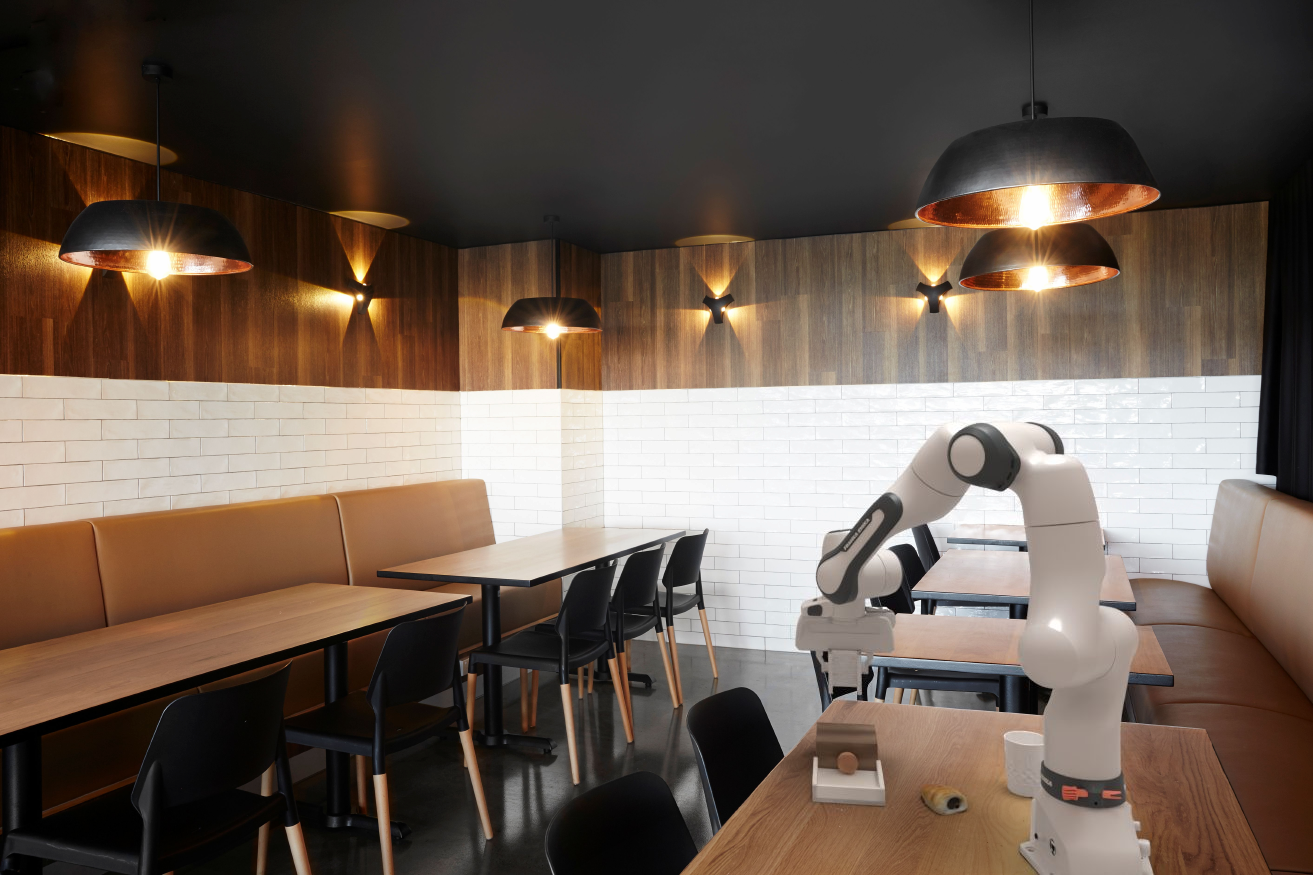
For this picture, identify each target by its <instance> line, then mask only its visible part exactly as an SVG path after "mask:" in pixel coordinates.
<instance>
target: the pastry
mask: <svg viewBox="0 0 1313 875" xmlns="http://www.w3.org/2000/svg"><path fill="white" fill-rule="evenodd" d="M919 792H920V795H921V797H922V799H923V801H924V804H925V805H926V806H928V807H929V808H930V809H931V810H932V811H934V812H935V813H937V814H938V815H942V816H943V815H952V814H953V815H954V814H955V813H961V812H964V811H965V810H966V809H967V808H969V807H968V805H969V801H968V799H967V797H966V795H965V794H964V795H963V793H962V792H960V791H959V790H957V789H956V787H953V786H950V785H945V784H937V783H936V784H934V783H925V784H923V785H922V786H921V787H920V790H919Z"/></svg>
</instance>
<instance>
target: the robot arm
mask: <svg viewBox="0 0 1313 875" xmlns="http://www.w3.org/2000/svg"><path fill="white" fill-rule="evenodd" d="M971 486H975V487H978V488H983V489H987V490H991V491H996V492H999V493H1003V492H1005V491H1006V490H1007V489H1009V490H1011V491H1012V492H1014V493H1015V494H1016V496H1017V497H1018V499H1019V502H1020V504H1021V509H1022V516H1023V517H1022V518H1023V526H1024V531H1025V532H1024V533H1025V538H1026V545H1027V546H1026V547H1027V554H1028V561H1029V562H1028V563H1029V572H1030V581H1029V582H1030V585H1029V586H1030V587H1029V596H1028V597H1029V598H1028V607H1027V616H1026V621H1025V622H1026V623H1025V627H1024V630H1023V632H1022V635H1021V636H1020V638H1019V640H1018V644H1017V649H1016V650H1017V653H1016V654H1017V659H1018V662H1019V665H1020V668H1021V669H1022V671H1023V673H1024V674H1025V675H1026V676H1027V677H1028V678H1029V679H1030V680H1031V681H1033V682H1034V683H1035V684H1037V685H1039V686H1041V687H1044V688H1046V689H1047V688H1048V689H1052V691H1051V694H1050V697H1049V700H1048V703H1047V705H1046V706H1045V708H1044V712H1043V715H1042V732H1043V733H1042V735H1043V750H1044V760H1043V761H1042V762H1041V769H1040V776H1041V785H1042V789H1041V791H1040V792H1039V793H1038V795H1037V796H1035V797H1034V798H1032V799H1031V806H1030V829H1029V830H1030V832H1029V835H1030V836H1029V840H1027V841H1024V842H1021V843H1020V845H1019V852H1020V854H1022V856H1023V857H1024V858H1025V859H1026V860H1027V861H1028V862H1029V863H1028V864H1030V865H1031V866H1032V868H1033V869H1034V870H1035V871H1036V872H1037V873H1038V874H1039V875H1155V874H1154V871H1153V868H1152V866H1151V862H1150V858H1149V857H1151V842H1150V840H1148V839H1145V838H1138V836H1137V832H1140V831H1141V822H1140V820H1139V821H1138V820H1134V818H1133V815H1132V804H1130V803H1129V801H1127V798H1128V797H1127V791H1126V789H1127V785H1126V780H1125V777H1124V776H1125V775H1124V772H1123V770H1122V768H1121V762H1122V760H1121V755H1122V754H1121V726H1122V724H1121V723H1122V714H1123V709H1124V702H1125V699H1126V693H1127V689H1128V682H1129V679H1130V678H1129V677H1130V673H1131V672H1130V671H1131V665H1132V662H1133V660H1134V656H1135V654H1136V652H1137V651H1138V647H1139V642H1140V639H1139V633H1138V628H1137V627H1136V625H1135V623H1134V621H1133V620H1132V619H1131V618H1130V617H1129V615H1127V614H1126V613H1125V612H1123V611H1121V610H1120V609H1117V608H1115V607H1111V606H1105V605H1100V598H1101V590H1102V586H1103V581H1104V579H1105V576H1106V573H1107V562H1106V557H1105V556H1106V554H1105V548H1104V542H1103V536H1102V530H1101V529H1102V528H1101V524H1100V517H1099V512H1098V506H1097V502H1096V498H1095V494H1094V491H1093V487H1092V484H1091V482H1090V478H1089V476H1088V473H1087V471H1086V468H1085V466H1084V465H1083V463H1082V462H1081V461H1080V460H1078V459H1077V458H1075V457H1073V456H1071V455H1070V456H1069V455H1066V454H1065V446H1064V443H1063V440H1062V439H1061V437H1060V435H1059V434H1058V433H1057V432H1056V430H1054V429H1053V428H1051V427H1049V426H1047V425H1045V424H1042V423H1039V422H1033V421H1026V422H1022V421H1011V420H998V421H997V420H996V421H989V422H976V423H973V424H968V423H965V422H961V421H949V422H946V423H944V424H942V425H941V426H940V427H938V428H937V429H936V430H935V431H934V432H933V434H931V435H930V436H929V437H928V438H927V440H926V441H925V442H924V443H923V445H922V446H921V447H920V448H919V450H918V451H917V453H916V454H915V455H914V457H913V458H912V460H911V462H910V463H909V465H908V466H907V467H906V469H905V470H903V472H902V474H901V475H900V476H899V477H898V478H897V479H896V480H895V482H893V484H892V485H891V486H890V487H889V488H888V489H887V490H886V491H884V493H883V494H882V495H881V496H879V498H877V499H876V500H875V501H874V502H873V503H872V504H871V505H870V506H869V508H868V509H867V510H866V511H865V512H864V514H862V516H861V517H860V519H859V520H857V522H856V523H855V524H854V525H853V527H852V528H844V529H837V530H831V531H828V532H827V533H826V534H825V535H824V538H823V542H822V546H821V547H822V549H821V559H820V560H819V563H818V564H817V568H816V572H815V581H816V585H817V588H818V590H819V591H820V593H821V596H817V597H814V598H810V599H807V600H805V601H803V602H802V603H801V606H800V612H801V614H800V615H799V617H798V619H797V623H796V624H797V625H796V630H795V641H794V642H795V647H796V649H797V650H798V651H801V652H803V651H808V652H815V656H816V658H817V660H818V661H819V664H820V665H821V673H829V671H828V662H827V661H825V659H824V658H823V655H824V652H828V649H857V650H861V653H865V656H866V660H865V661H864V662H863V663H862V662H861V675H862V674H863V675H868V674H869V666H870V664H871V663H872V661H873V660H874V654H891V653H893V652H894V650H895V648H896V646H895V638H894V637H895V636H894V631H893V629H894V628H895V626H896V624H897V623H896V622H897V621H896V614H895V612H894V611H893V610H892V609H889V608H888V607H887V606H881V607H880V606H879V607H878V606H866V600H869V599H874V598H878V597H879V598H880V597H886V596H889V595H891V594H894V593H896V592H898V590H899V589H900V588H901V586H902V583H903V581H904V580H903V579H904V567H903V563H902V562H901V559H900V558H899V557H898V555H897V554H896V552H894V551H893V550H891V549H889V548H884V547H883V545H884V544H885V543H886V542H887V541H888V540H890V538H892V537H894V536H895V535H898V534H899V533H902V532H903V531H906V530H907V531H908V530H910V529H912V528H915V527H919V526H923V525H925V524H929V523H932V522H935V521H938V520H941V519H943V518H944V517H945V516H947V515H948V514H949V513H950V512H951V511H952V510H953V509H954V508H956V507H957V505H958V504H959V503H960V501H961V500H962V499H963V497H964V496H965V494H966V493H967V491H968V490H969V488H970V487H971Z"/></svg>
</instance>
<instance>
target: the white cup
mask: <svg viewBox="0 0 1313 875" xmlns="http://www.w3.org/2000/svg"><path fill="white" fill-rule="evenodd" d="M1003 745H1004V747H1003V748H1004V761H1005V772H1006V775H1007V776H1006V779H1007V780H1006V782H1007V789H1008V791H1009V792H1010V793H1012V794H1013V795H1017V796H1019V797H1023V798H1029V797H1032V799H1033V798H1034V797H1035V796H1037V795H1038V793H1039V792H1040V791H1041V789H1042V785H1041V776H1040V769H1041V762H1042V761H1043V760H1044V750H1043V734H1042V733H1037V732H1034V731H1028V730H1027V731H1026V730H1013V731H1007V732H1006V733H1004V734H1003Z"/></svg>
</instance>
